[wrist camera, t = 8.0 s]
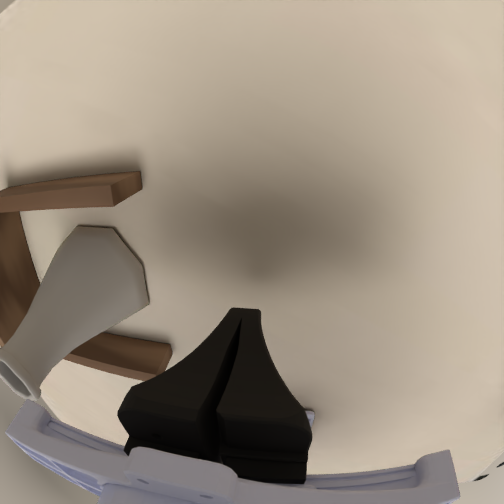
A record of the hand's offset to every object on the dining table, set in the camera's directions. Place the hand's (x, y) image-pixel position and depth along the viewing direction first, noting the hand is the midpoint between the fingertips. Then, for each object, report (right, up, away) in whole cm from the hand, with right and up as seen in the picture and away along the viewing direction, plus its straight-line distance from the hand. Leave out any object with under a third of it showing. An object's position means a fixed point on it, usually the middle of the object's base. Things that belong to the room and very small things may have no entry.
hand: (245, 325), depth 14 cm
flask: (-10, +2, +4) cm, 11 cm away
